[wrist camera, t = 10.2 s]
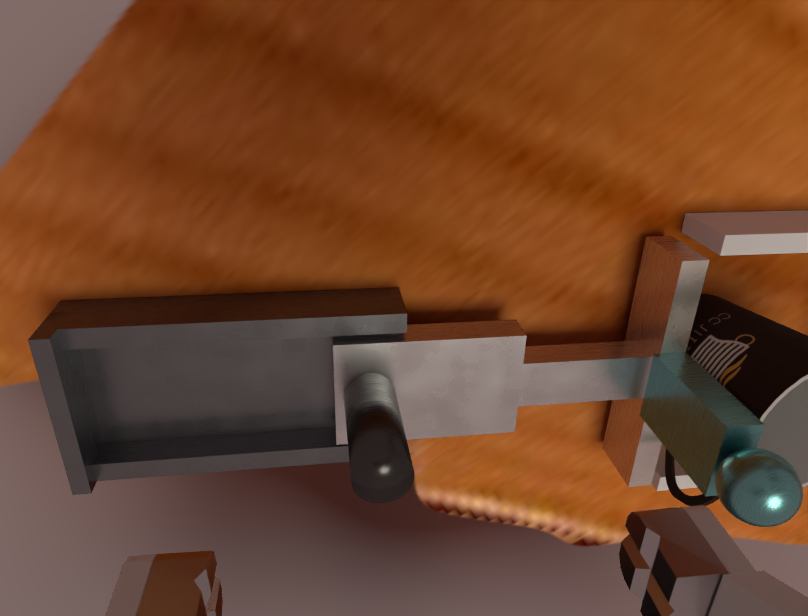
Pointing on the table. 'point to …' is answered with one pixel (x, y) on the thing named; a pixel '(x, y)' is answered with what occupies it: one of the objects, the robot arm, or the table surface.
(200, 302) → the rail
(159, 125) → the table surface
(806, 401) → the coffee mug
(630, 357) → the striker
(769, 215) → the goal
